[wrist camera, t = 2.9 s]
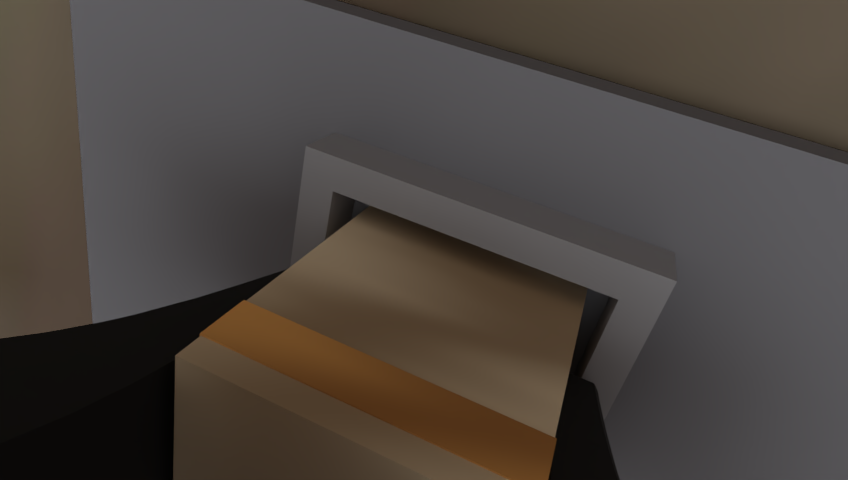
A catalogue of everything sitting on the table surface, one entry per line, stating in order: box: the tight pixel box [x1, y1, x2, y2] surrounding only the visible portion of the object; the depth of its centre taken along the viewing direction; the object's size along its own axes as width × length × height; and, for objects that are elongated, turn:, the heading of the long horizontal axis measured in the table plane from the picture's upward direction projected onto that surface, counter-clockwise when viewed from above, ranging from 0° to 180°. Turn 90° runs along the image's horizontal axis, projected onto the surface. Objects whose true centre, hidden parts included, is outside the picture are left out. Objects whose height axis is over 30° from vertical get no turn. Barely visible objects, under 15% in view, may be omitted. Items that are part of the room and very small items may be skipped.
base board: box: [70, 0, 848, 480], centre depth 12 cm, size 16×16×2 cm
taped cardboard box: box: [173, 206, 588, 480], centre depth 9 cm, size 4×4×5 cm
